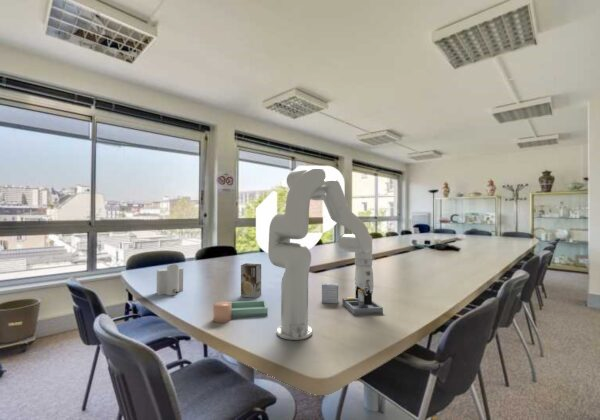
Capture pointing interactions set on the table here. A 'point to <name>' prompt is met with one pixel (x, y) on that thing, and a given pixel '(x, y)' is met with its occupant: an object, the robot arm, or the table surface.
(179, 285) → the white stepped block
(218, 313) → the peach rounded dome
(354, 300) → the cradle
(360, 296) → the cell
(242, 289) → the coffee box
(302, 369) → the table surface
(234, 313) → the green trapezoid tray
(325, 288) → the medicine box
